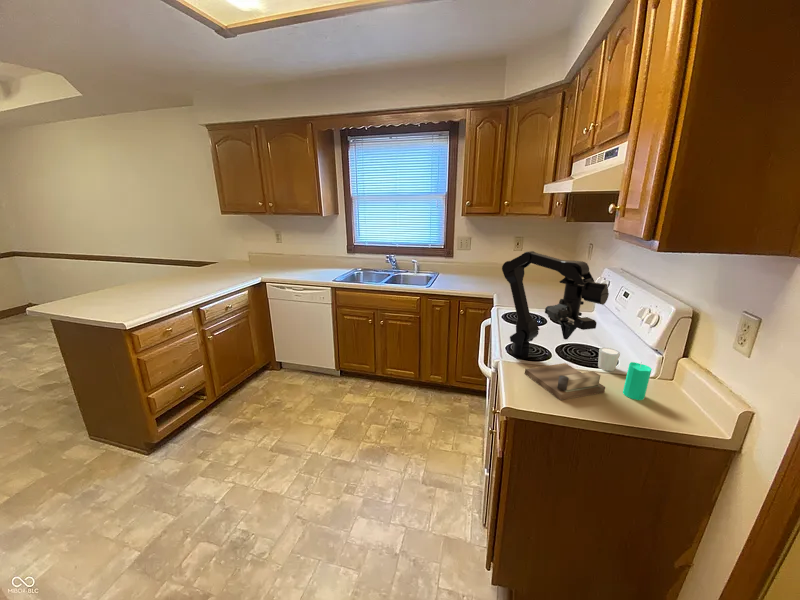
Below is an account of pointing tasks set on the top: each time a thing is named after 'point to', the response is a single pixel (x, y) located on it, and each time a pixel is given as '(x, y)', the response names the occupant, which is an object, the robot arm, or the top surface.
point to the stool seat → (550, 377)
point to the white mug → (608, 359)
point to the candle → (637, 381)
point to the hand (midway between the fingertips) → (565, 339)
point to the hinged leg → (578, 380)
